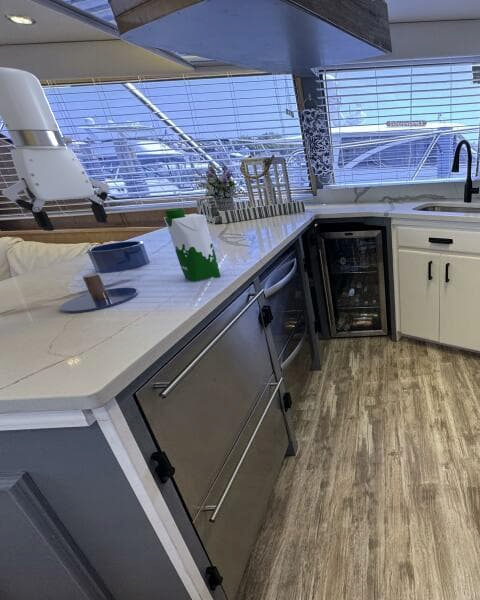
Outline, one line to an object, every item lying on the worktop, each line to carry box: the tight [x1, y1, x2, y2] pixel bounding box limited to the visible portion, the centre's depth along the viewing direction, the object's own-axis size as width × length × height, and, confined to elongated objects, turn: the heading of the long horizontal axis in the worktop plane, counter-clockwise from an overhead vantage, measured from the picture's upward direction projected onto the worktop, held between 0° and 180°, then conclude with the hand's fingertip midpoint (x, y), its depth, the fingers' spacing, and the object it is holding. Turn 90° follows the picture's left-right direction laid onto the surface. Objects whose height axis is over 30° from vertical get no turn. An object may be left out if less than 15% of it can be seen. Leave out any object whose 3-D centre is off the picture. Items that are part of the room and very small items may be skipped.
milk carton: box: [163, 208, 221, 283], centre depth 91 cm, size 9×9×20 cm
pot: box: [86, 240, 151, 274], centre depth 103 cm, size 14×19×8 cm
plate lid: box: [59, 272, 139, 314], centre depth 78 cm, size 15×15×7 cm
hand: (77, 226), depth 72 cm, fingers open, 9 cm apart
